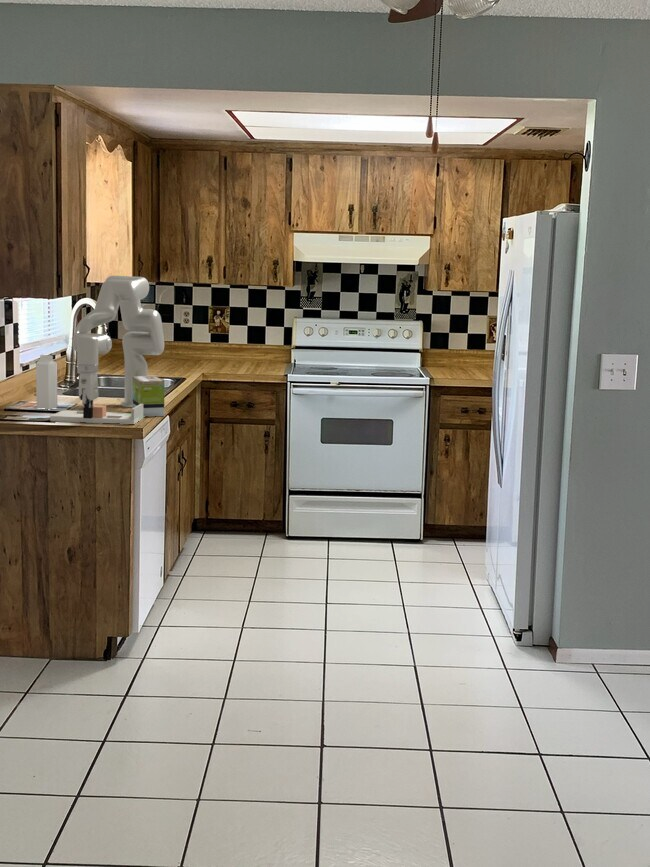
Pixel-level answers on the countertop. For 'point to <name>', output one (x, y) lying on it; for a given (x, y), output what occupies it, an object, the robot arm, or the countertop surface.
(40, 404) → the milk
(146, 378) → the tea box
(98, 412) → the block
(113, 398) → the countertop surface
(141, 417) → the board
